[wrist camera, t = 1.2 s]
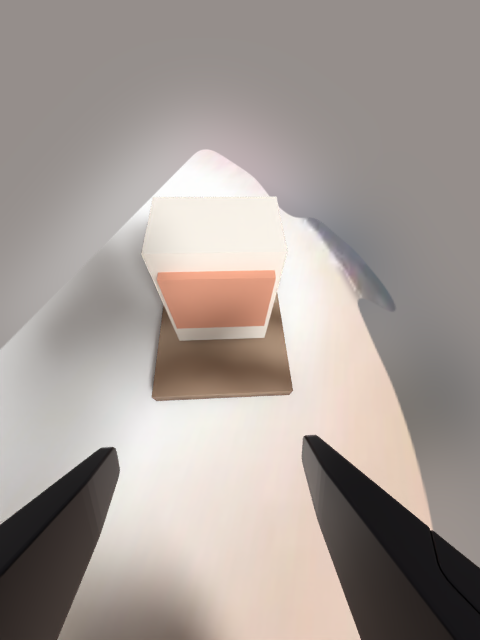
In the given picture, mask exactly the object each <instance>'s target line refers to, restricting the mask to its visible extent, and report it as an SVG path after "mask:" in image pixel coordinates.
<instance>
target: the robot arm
mask: <svg viewBox="0 0 480 640" xmlns="http://www.w3.org/2000/svg"><path fill="white" fill-rule="evenodd" d="M302 463H303V467H304V471H305V475H306V478H307V482H308V486H309V490H310V494H311V497H312V501H313V505H314V509H315V512H316V516H317V519H318V522H319V525H320V528H321V531H322V534H323V537H324V539H325V542H326V545H327V547H328V550H329V553H330V556H331V558H332V561H333V564H334V567H335V569H336V572H337V575H338V578H339V580H340V583H341V586H342V589H343V591H344V594H345V597H346V600H347V602H348V605H349V608H350V611H351V613H352V616H353V619H354V622H355V624H356V627H357V630H358V633H359V635H360V638H361V640H480V568H479V567H478V566H476V565H475V564H474V563H473V562H471V561H470V560H469V559H468V558H466V557H465V556H464V555H463V554H461V553H460V552H459V551H458V550H456V549H455V548H454V547H453V546H451V545H450V544H449V543H448V542H447V541H445V540H444V539H443V538H442V537H440V536H439V535H438V534H437V533H436V532H434V531H433V530H431V531H430V528H429V527H428V526H427V525H426V524H424V523H423V522H422V521H421V520H420V519H418V518H417V517H416V516H415V515H413V514H412V513H411V512H410V511H409V510H407V509H406V508H405V507H404V506H402V505H401V504H400V503H399V502H398V501H396V500H395V499H394V498H393V497H391V496H390V495H389V494H388V493H387V492H385V491H384V490H383V489H382V488H381V487H379V486H378V485H377V484H376V483H374V482H373V481H372V480H371V479H370V478H368V477H367V476H366V475H365V474H363V473H362V472H361V471H360V470H359V469H357V468H356V467H355V466H354V465H353V464H351V463H350V462H349V461H348V460H346V459H345V458H344V457H343V456H342V455H340V454H339V453H338V452H337V451H335V450H334V449H333V448H332V447H331V446H329V445H328V444H327V443H326V442H324V441H323V440H322V439H321V438H320V437H318V436H317V435H305V436H304V437H303V445H302ZM119 472H120V467H119V462H118V456H117V451H116V449H115V448H114V447H105V448H100V449H99V450H97V451H96V452H95V453H93V454H92V455H91V456H89V457H88V458H87V459H85V460H84V461H83V462H81V463H80V464H79V465H78V466H76V467H75V468H74V469H72V470H71V471H70V472H68V473H67V474H66V475H65V476H63V477H62V478H61V479H59V480H58V481H57V482H55V483H54V484H53V485H52V486H50V487H49V488H48V489H46V490H45V491H44V492H42V493H41V494H40V495H38V496H37V497H36V498H35V499H33V500H32V501H31V502H29V503H28V504H27V505H25V506H24V507H23V508H22V509H20V510H19V511H18V512H16V513H15V514H14V515H12V516H11V517H10V518H8V519H7V520H6V521H5V522H3V523H2V524H1V525H0V640H57V639H58V636H59V634H60V631H61V629H62V627H63V624H64V622H65V619H66V617H67V614H68V612H69V610H70V607H71V605H72V602H73V600H74V598H75V595H76V593H77V590H78V588H79V585H80V583H81V581H82V578H83V576H84V573H85V571H86V569H87V566H88V564H89V561H90V559H91V556H92V554H93V552H94V549H95V547H96V544H97V542H98V539H99V537H100V534H101V531H102V528H103V525H104V522H105V519H106V515H107V512H108V509H109V506H110V503H111V500H112V496H113V493H114V490H115V487H116V484H117V481H118V477H119Z"/></svg>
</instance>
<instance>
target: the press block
mask: <svg viewBox="0 0 480 640" xmlns="http://www.w3.org/2000/svg"><path fill="white" fill-rule="evenodd" d="M287 253H288V250H287V245H286V240H285V236H284V231H283V226H282V221H281V217H280V212H279V207H278V202H277V198H276V197H153V200H152V205H151V209H150V214H149V219H148V223H147V228H146V233H145V238H144V242H143V247H142V252H141V255H142V257H143V259H144V262H145V264H146V266H147V268H148V271H149V273H150V275H151V277H152V280H153V282H154V284H155V286H156V289H157V291H158V293H159V295H160V298H161V300H162V302H163V304H164V307H165V309H166V311H167V314H168V316H169V318H170V320H171V323H172V325H173V327H174V329H175V332H176V334H177V336H178V338H179V341H186V340H215V339H244V338H264V337H265V334H266V330H267V326H268V323H269V319H270V315H271V312H272V308H273V304H274V301H275V297H276V293H277V290H278V286H279V282H280V279H281V275H282V271H283V268H284V264H285V260H286V257H287Z"/></svg>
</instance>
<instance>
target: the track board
mask: <svg viewBox="0 0 480 640" xmlns="http://www.w3.org/2000/svg"><path fill="white" fill-rule="evenodd" d="M292 391H293V388H292V382H291V376H290V370H289V363H288V357H287V351H286V345H285V338H284V332H283V326H282V320H281V314H280V307H279V301H278V295H277V293H276V297H275V301H274V304H273V308H272V312H271V315H270V319H269V323H268V326H267V330H266V334H265V337H264V338H244V339H215V340H186V341H179V338H178V336H177V334H176V332H175V329H174V327H173V325H172V323H171V320H170V318H169V316H168V314H167V311H166V309H165V307H164V305H163V313H162V321H161V329H160V336H159V344H158V352H157V360H156V368H155V375H154V383H153V391H152V398H153V399H155V400H156V401H167V400H188V399H209V398H230V397H251V396H273V395H289V394H290V393H291V392H292Z"/></svg>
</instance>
